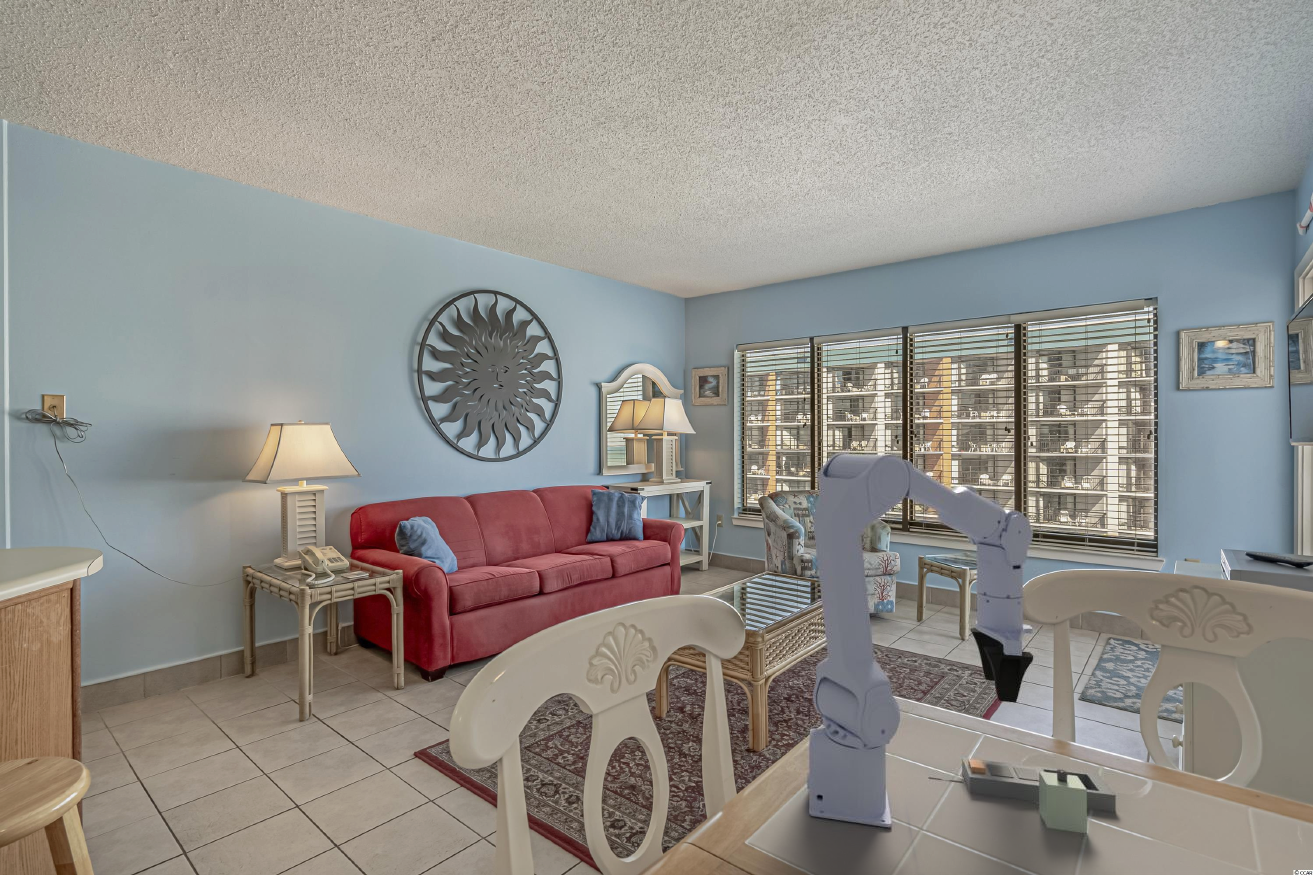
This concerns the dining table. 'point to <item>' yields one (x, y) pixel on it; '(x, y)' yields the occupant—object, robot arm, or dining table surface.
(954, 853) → the dining table surface
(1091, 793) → the power strip
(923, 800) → the dining table surface
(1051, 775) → the charger
